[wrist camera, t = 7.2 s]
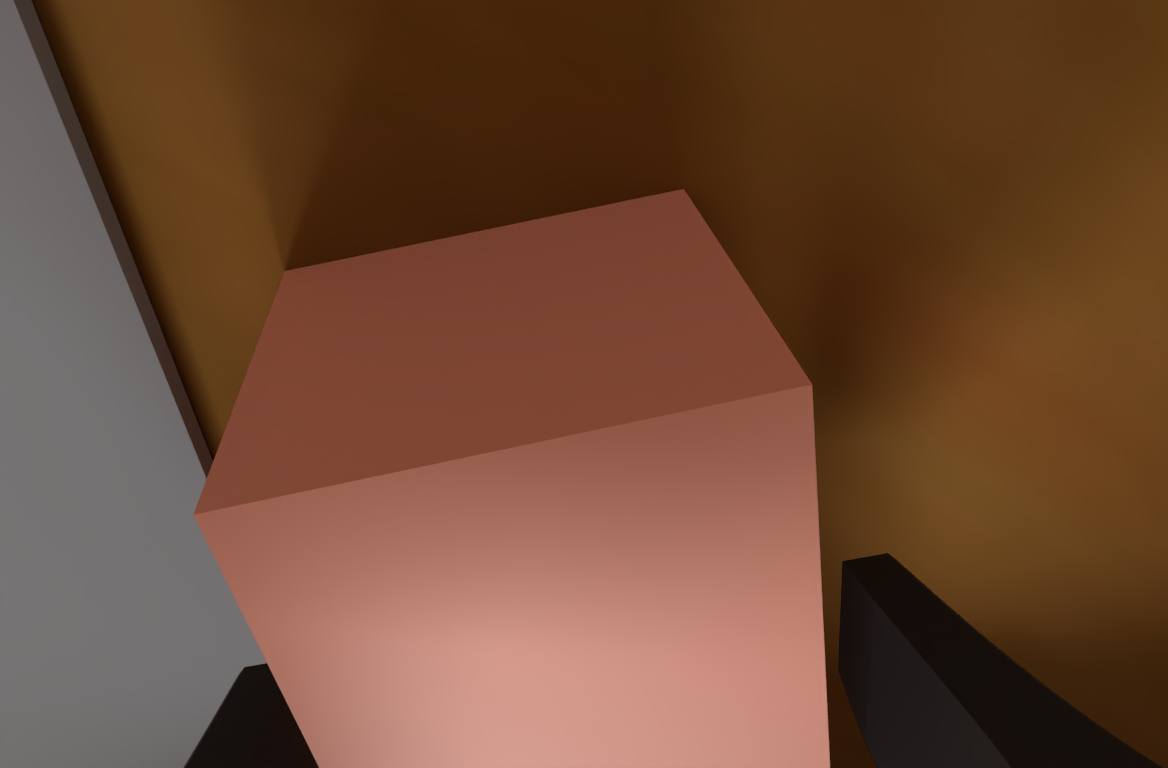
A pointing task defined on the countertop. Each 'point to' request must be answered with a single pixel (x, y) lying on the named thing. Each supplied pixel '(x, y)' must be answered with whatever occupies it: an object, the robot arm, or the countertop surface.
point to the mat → (93, 466)
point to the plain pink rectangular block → (531, 504)
